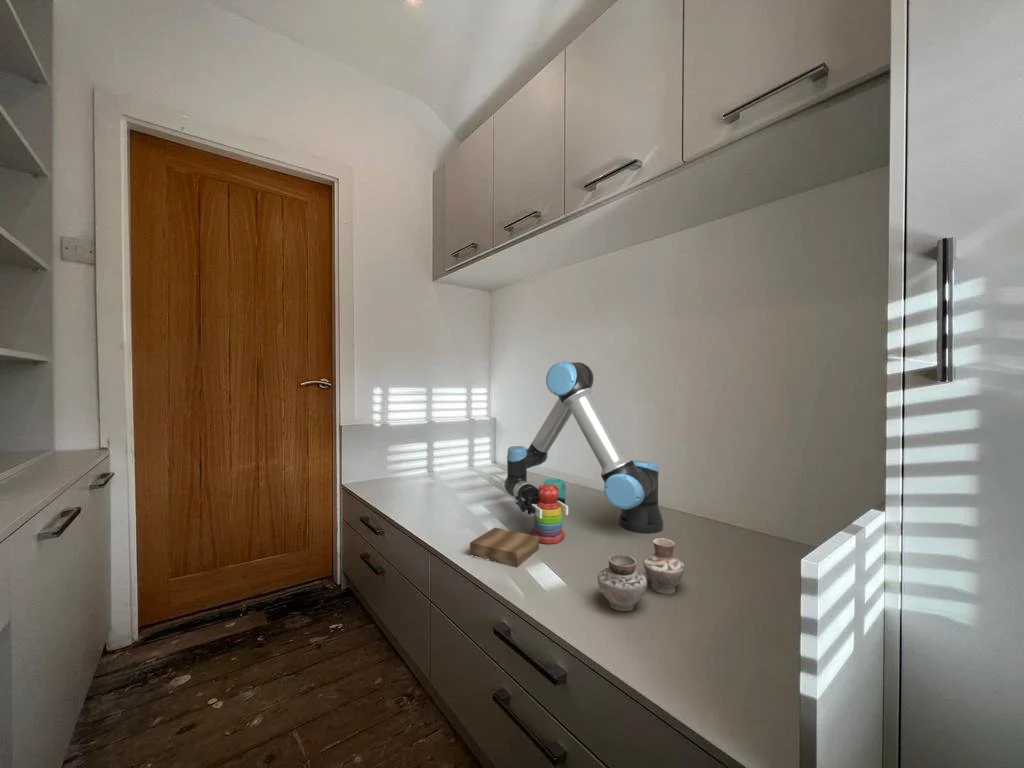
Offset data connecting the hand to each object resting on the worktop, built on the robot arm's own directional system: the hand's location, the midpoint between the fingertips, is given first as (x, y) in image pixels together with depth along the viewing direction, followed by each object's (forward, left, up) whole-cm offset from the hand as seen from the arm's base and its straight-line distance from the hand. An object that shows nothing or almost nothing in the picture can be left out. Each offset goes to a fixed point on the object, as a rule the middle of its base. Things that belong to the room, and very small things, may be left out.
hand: (554, 512), depth 134 cm
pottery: (-31, +19, -11) cm, 38 cm away
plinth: (+11, +13, -10) cm, 20 cm away
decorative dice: (+20, -45, -10) cm, 50 cm away
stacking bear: (+3, -3, -10) cm, 11 cm away
